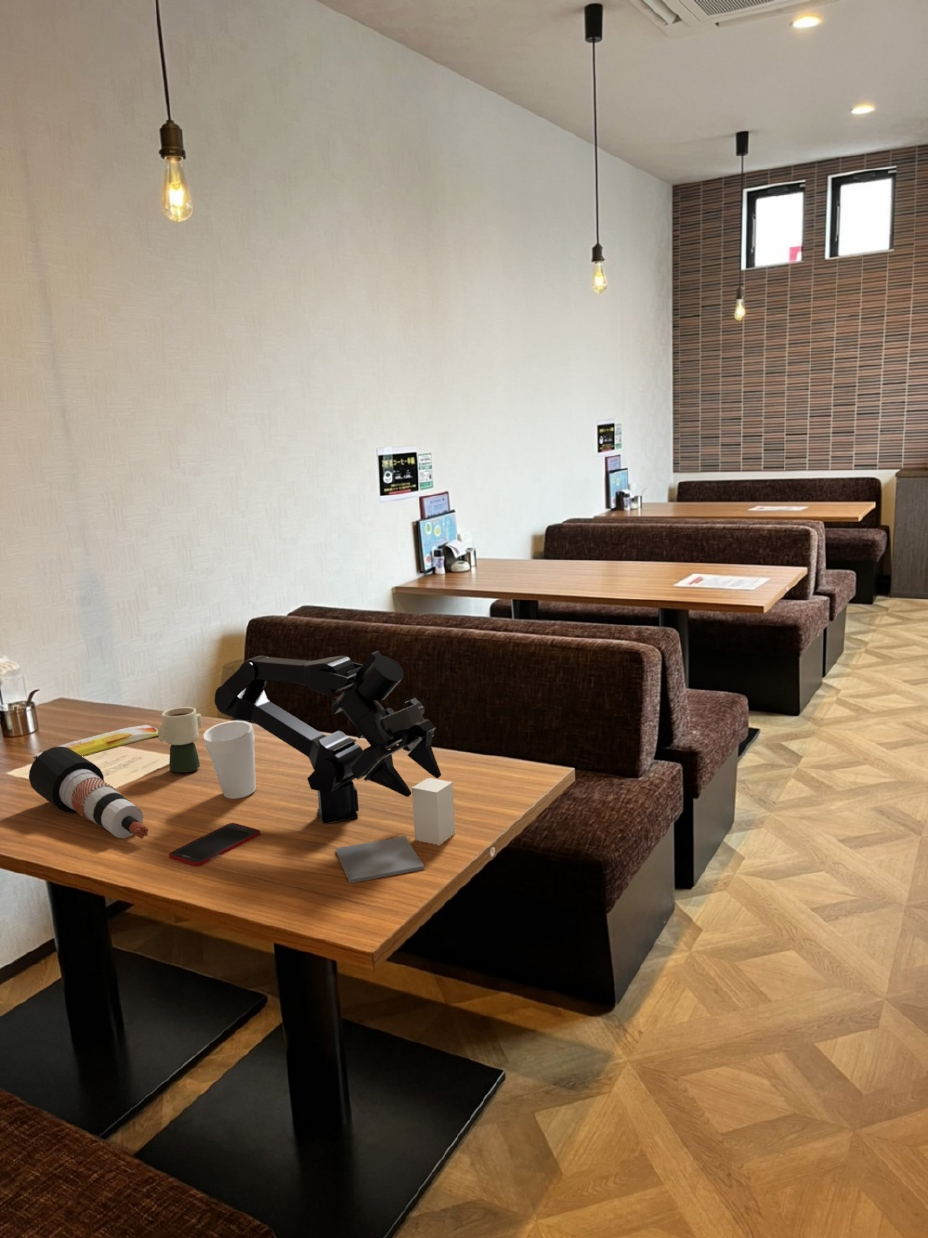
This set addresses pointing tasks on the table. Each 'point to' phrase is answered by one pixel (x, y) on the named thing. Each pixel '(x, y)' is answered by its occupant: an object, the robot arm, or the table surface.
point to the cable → (84, 792)
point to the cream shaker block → (433, 810)
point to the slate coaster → (378, 859)
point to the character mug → (181, 737)
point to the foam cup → (233, 757)
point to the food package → (111, 740)
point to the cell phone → (214, 844)
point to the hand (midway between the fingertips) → (424, 785)
